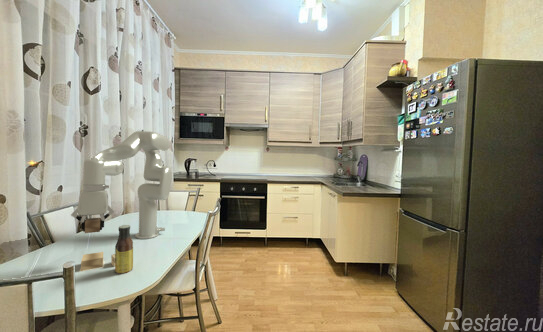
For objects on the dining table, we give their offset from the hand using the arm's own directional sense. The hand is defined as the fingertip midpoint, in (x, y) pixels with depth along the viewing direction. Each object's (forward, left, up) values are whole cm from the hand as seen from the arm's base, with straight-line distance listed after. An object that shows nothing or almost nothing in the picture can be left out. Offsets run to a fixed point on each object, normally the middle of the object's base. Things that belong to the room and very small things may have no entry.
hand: (92, 229), depth 99 cm
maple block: (-9, +5, -15) cm, 18 cm away
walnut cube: (0, 0, -1) cm, 1 cm away
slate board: (-2, +2, -16) cm, 16 cm away
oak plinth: (0, +2, -15) cm, 15 cm away
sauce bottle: (-11, +13, -16) cm, 24 cm away
